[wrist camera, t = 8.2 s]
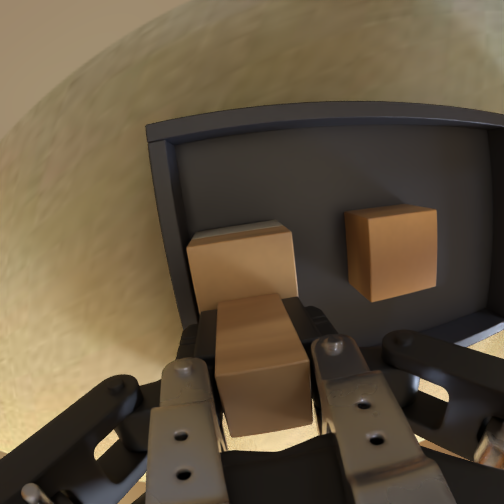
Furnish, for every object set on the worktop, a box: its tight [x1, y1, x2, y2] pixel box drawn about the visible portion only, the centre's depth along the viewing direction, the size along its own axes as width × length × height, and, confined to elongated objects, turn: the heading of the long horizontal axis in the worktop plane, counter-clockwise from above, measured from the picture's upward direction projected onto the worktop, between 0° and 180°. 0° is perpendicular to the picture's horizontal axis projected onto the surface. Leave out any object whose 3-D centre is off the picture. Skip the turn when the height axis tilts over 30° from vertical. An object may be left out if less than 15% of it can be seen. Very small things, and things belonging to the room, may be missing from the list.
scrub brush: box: [186, 220, 313, 438], centre depth 12 cm, size 7×4×9 cm, turn 8°
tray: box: [145, 101, 504, 347], centre depth 15 cm, size 15×22×3 cm
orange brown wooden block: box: [344, 204, 437, 302], centre depth 15 cm, size 4×4×3 cm
